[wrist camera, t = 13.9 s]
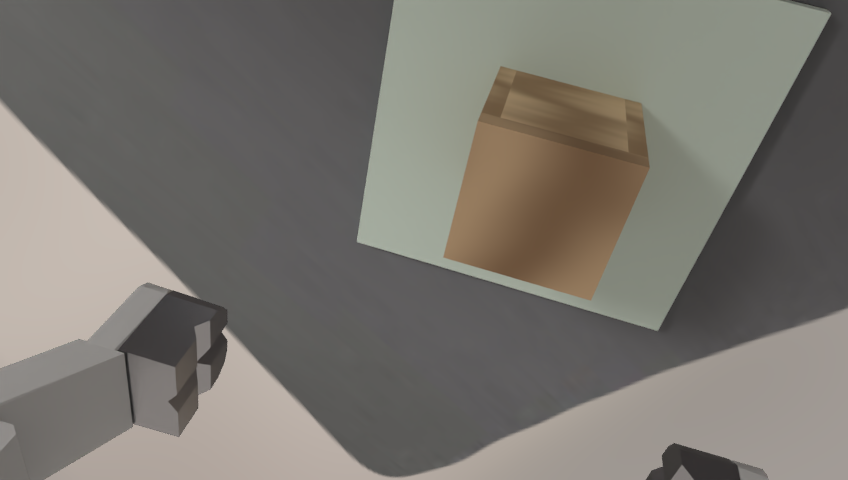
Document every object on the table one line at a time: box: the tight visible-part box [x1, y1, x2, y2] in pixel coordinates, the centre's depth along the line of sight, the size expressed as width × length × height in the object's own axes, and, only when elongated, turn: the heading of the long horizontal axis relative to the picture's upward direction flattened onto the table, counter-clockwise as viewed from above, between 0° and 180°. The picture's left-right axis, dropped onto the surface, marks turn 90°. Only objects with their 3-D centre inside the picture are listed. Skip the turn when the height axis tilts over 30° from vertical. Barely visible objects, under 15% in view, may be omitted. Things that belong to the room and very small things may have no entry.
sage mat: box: [357, 0, 831, 331], centre depth 29 cm, size 16×16×1 cm
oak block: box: [443, 66, 650, 301], centre depth 26 cm, size 6×6×6 cm
